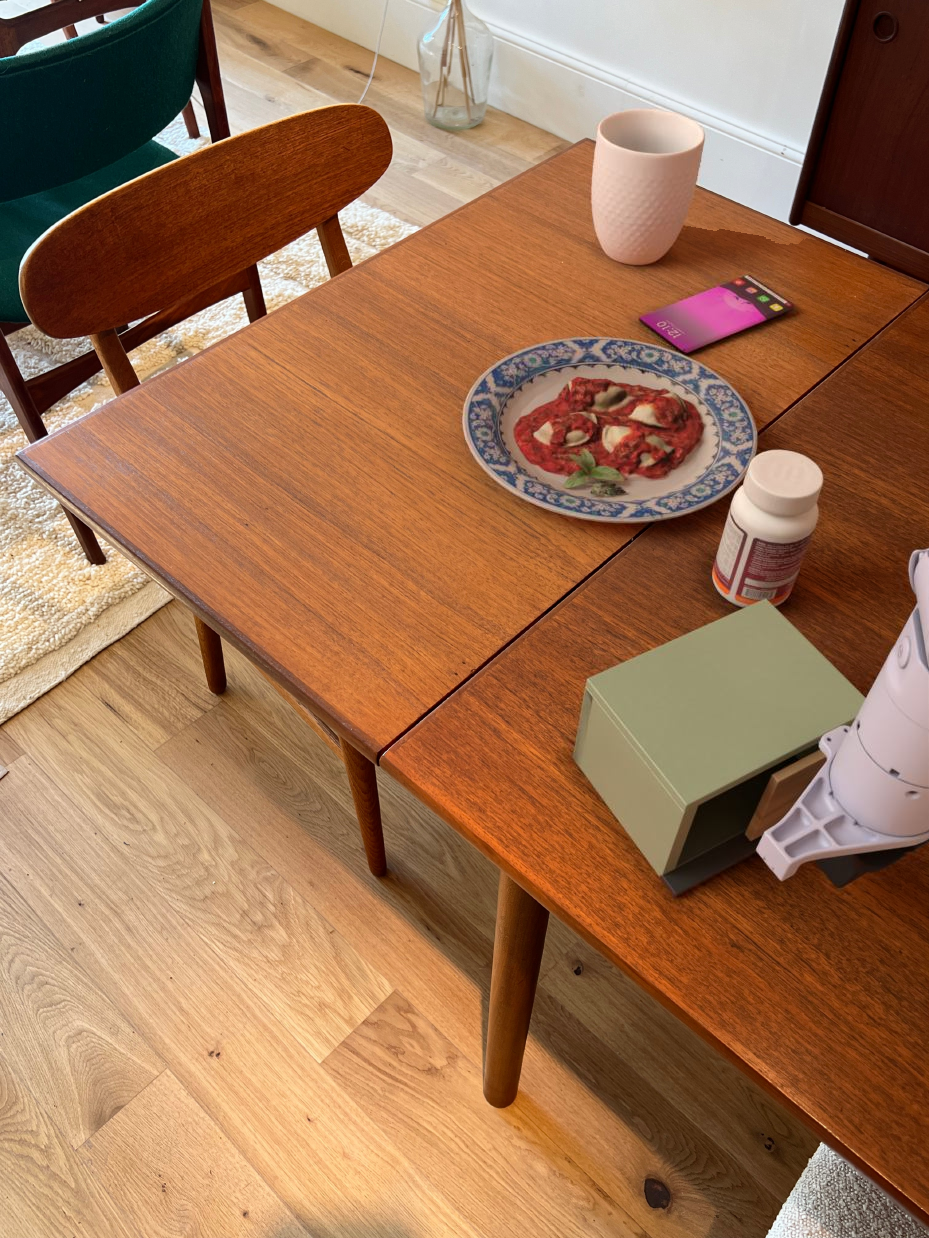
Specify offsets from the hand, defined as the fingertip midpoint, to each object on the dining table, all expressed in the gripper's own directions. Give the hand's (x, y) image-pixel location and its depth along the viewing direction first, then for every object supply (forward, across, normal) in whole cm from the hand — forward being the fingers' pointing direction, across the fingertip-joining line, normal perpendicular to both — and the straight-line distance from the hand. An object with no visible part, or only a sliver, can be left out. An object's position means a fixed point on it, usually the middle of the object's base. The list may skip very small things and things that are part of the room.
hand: (834, 870), depth 58 cm
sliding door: (+3, -2, -2) cm, 4 cm away
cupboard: (+4, +1, -10) cm, 11 cm away
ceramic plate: (+4, -13, -42) cm, 45 cm away
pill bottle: (+4, -13, -22) cm, 26 cm away
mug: (+4, -35, -70) cm, 78 cm away
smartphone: (+4, -34, -54) cm, 64 cm away
